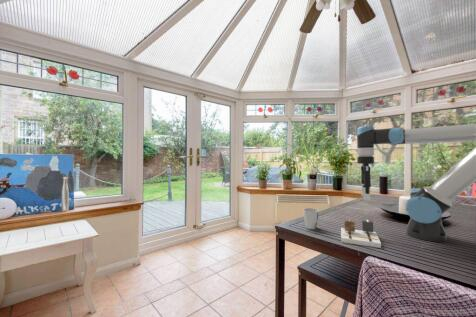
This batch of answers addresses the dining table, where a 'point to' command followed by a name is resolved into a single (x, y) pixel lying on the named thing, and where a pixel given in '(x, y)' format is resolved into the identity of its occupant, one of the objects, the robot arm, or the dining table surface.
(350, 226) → the fader
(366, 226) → the fader
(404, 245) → the dining table surface
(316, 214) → the cup
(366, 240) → the white flat slab
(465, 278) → the dining table surface
